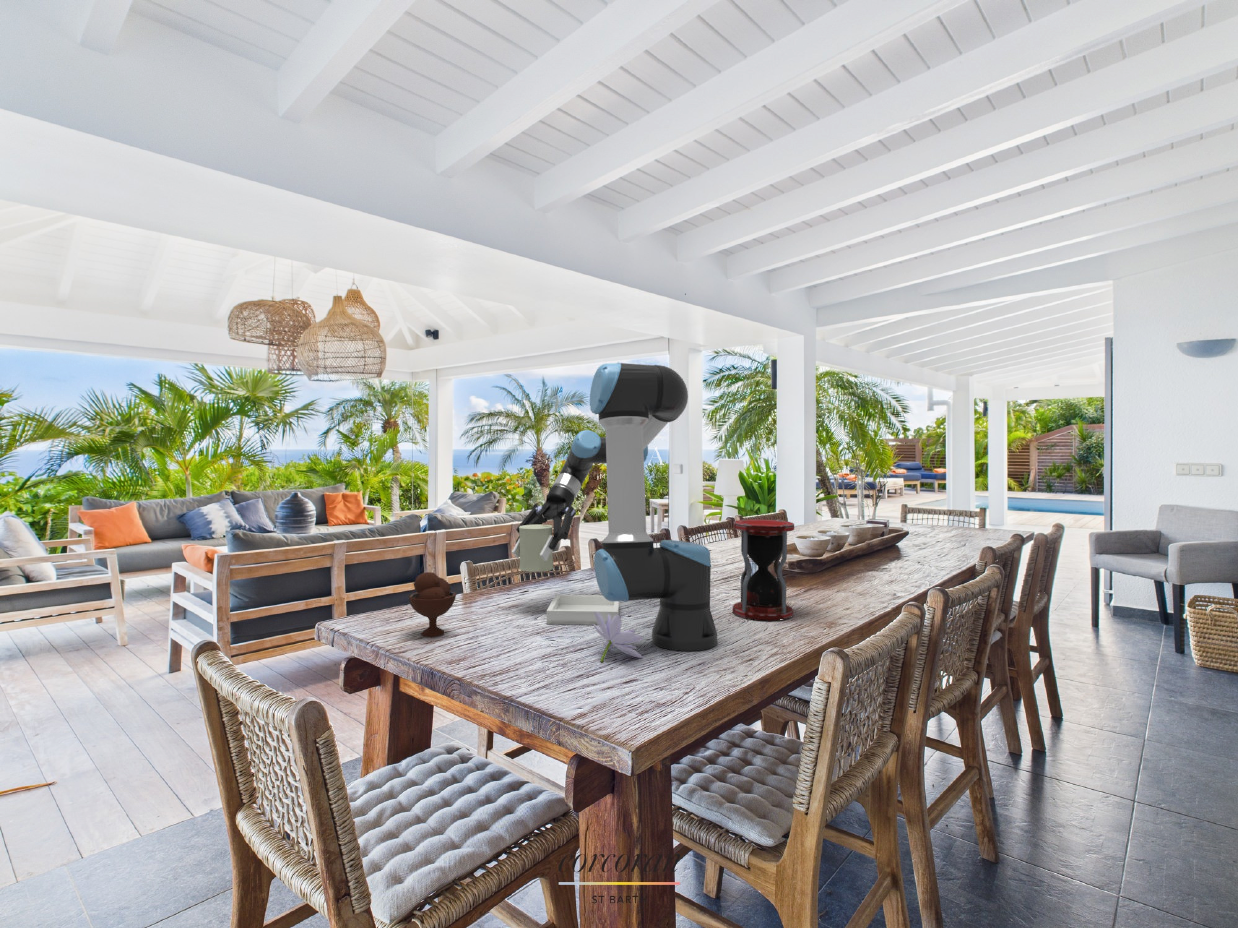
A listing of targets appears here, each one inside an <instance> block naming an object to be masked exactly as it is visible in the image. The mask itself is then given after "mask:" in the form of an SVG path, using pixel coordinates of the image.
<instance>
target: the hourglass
mask: <svg viewBox="0 0 1238 928" xmlns="http://www.w3.org/2000/svg"><path fill="white" fill-rule="evenodd" d="M733 528H734V530H738V531H741V536H740V537H741V538H740V539H741V540H740V543H741V544H740V548H741V549H740V552H741V555H742V558H743V562H744V570H743V571H742V572H741V576H740V601H739V602H736V603H734V604H733V605H732V613H733V615H735V616H737V617H739V618H742V619H746V618H748V619H747V620H750V619H756V620H755V621H759V620H766V621H765V622H772V621H771V620H780V619H786V620H788V619H787V618H789V619H791V618H792V617H793V616H794V609H793V608H792V607H791V606H790V605H788V604H787V583H786V581H785V579H784V577H783V567H784V565H785V564H786V562H787V558H788V533H789V532H793V531H794V530H795V523H794V522H791V521H786V520H781V519H780V520H778V519H759V518H758V519H754V518H753V519H737V520H735V521H733ZM750 559H751V560H752V561H753V563H754V564H755V565H756V566H757V568H758V569H757V570H756V571H755V572H754V573H753V568H752V564H751V562H750V561H751V560H750ZM772 564H773V571H774V573H775V575H776V577H777V578H776V577H775V575H774V574H772V572H771V571H770V570H769V567H770V565H772ZM752 573H753V574H752ZM791 616H792V617H791ZM790 617H791V618H790ZM767 620H768V621H767ZM780 621H781V620H780Z"/></svg>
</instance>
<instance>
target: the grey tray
mask: <svg viewBox="0 0 1238 928" xmlns="http://www.w3.org/2000/svg"><path fill="white" fill-rule="evenodd" d="M620 602H621V601H609V600H607V599H606V598H604V596H603V595H602V594H601V595H597V594H593V595H592V594H555V595H554V597H553V598H552V600H551V602H550V604H549V605H548V608H547V609H546V625H555V624H570V625H571V626H573V625H575V626H593V624H594V625H596V626H599V625H598V622H597V620H596V616H595V612H597V613H598V612H599V613H600V615H601V616H602V618H603V620H604V622H605V625H606V623H607V617H608V614H609V615H610V617H611V619H613V618H614V617H615V616H616V615H619V616H620V606H621V604H620ZM594 611H595V612H594ZM570 625H569V626H570Z"/></svg>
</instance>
